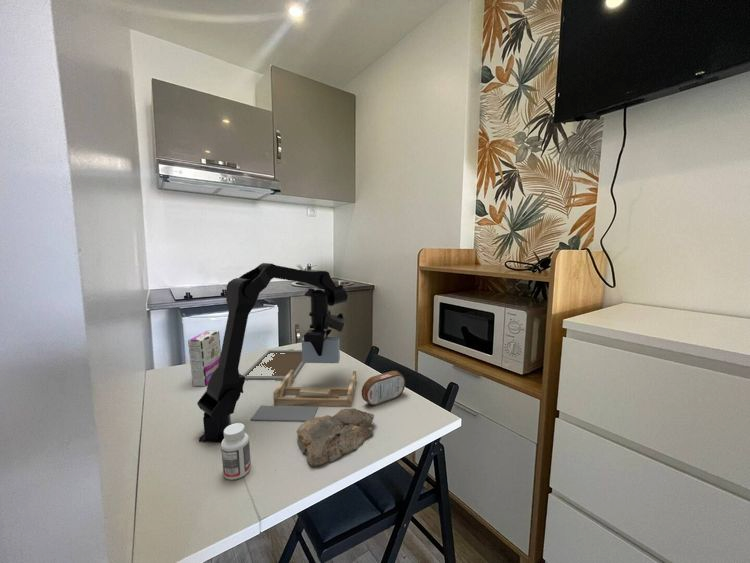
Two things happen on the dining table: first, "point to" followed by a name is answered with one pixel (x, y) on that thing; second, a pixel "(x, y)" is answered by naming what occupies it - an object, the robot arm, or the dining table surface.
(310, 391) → the offcut upper
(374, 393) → the tin
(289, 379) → the rack
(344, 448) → the brown rock
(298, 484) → the dining table surface
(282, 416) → the mat
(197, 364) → the candy bar box
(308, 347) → the light blue block
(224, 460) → the pill bottle
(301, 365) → the grey picture frame
